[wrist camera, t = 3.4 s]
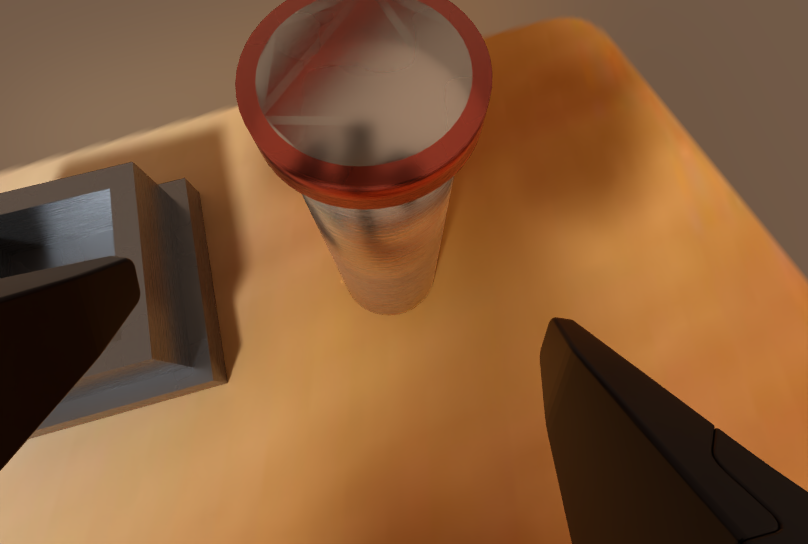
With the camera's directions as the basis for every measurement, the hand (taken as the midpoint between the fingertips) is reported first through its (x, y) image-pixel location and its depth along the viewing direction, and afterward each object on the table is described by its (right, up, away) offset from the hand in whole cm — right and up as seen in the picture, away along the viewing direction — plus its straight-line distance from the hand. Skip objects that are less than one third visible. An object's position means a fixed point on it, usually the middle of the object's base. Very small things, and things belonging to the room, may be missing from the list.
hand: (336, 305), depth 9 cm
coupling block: (-13, -1, +11) cm, 17 cm away
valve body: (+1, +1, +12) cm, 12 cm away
